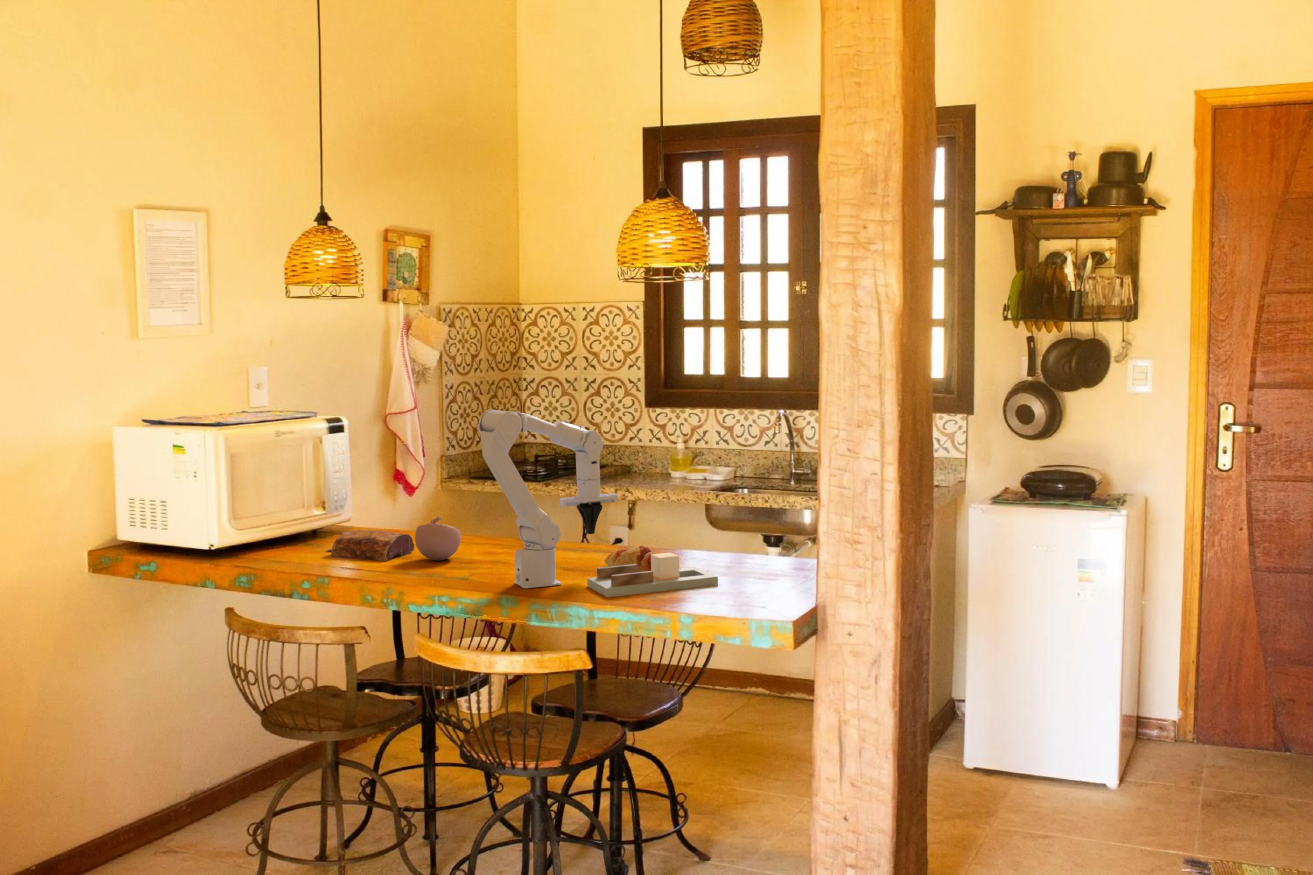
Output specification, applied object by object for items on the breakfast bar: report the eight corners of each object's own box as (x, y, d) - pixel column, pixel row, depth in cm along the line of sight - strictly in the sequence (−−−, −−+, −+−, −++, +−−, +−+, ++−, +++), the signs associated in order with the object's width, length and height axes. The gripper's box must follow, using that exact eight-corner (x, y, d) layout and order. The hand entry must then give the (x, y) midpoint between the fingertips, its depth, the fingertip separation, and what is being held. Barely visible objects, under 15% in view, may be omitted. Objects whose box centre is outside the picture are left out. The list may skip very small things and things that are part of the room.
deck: (606, 597, 291) (606, 588, 290) (587, 586, 303) (587, 578, 302) (718, 584, 301) (717, 576, 301) (695, 574, 313) (695, 566, 313)
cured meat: (348, 545, 365) (347, 521, 364) (423, 550, 355) (422, 525, 354) (308, 558, 348) (307, 533, 347) (386, 563, 339) (385, 538, 338)
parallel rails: (613, 586, 292) (612, 575, 292) (597, 578, 302) (596, 567, 302) (653, 582, 296) (653, 571, 296) (636, 574, 306) (636, 563, 306)
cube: (660, 578, 300) (659, 557, 299) (651, 575, 304) (650, 554, 304) (679, 576, 302) (679, 555, 301) (670, 572, 306) (669, 552, 306)
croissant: (598, 581, 325) (587, 556, 322) (620, 557, 331) (609, 532, 328) (663, 589, 312) (652, 563, 308) (685, 564, 318) (674, 539, 315)
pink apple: (466, 555, 345) (465, 513, 343) (455, 564, 333) (453, 520, 332) (422, 555, 346) (421, 513, 345) (410, 564, 334) (408, 521, 333)
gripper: (565, 483, 307) (567, 538, 308) (621, 478, 312) (623, 532, 314) (556, 479, 313) (558, 534, 315) (611, 474, 319) (613, 528, 320)
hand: (590, 533), depth 315 cm, fingers closed
